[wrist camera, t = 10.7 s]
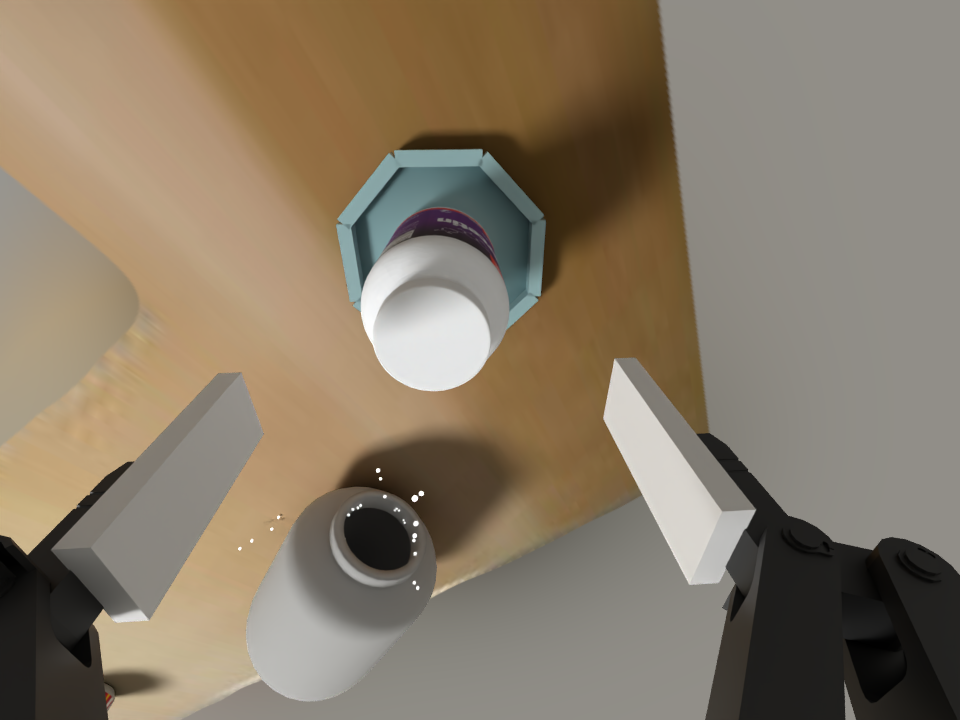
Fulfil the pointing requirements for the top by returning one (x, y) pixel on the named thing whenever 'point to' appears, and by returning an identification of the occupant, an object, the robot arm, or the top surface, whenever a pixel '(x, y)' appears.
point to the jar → (340, 592)
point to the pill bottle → (435, 300)
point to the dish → (456, 185)
